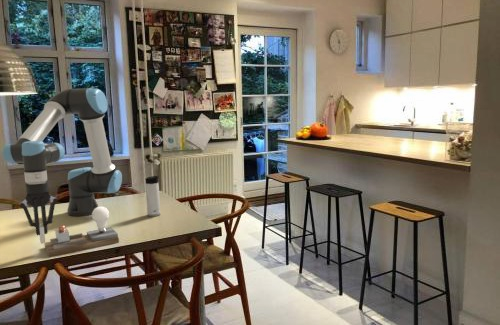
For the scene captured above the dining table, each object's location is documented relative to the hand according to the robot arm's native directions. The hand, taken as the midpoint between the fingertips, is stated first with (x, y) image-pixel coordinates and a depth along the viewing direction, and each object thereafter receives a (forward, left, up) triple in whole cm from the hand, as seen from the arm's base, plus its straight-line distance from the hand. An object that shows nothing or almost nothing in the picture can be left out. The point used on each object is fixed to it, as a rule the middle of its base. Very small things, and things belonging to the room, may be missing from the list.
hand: (42, 242), depth 158 cm
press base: (0, +14, -4) cm, 15 cm away
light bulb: (0, +22, -1) cm, 22 cm away
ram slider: (0, +7, -2) cm, 7 cm away
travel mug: (-23, +53, -4) cm, 58 cm away
